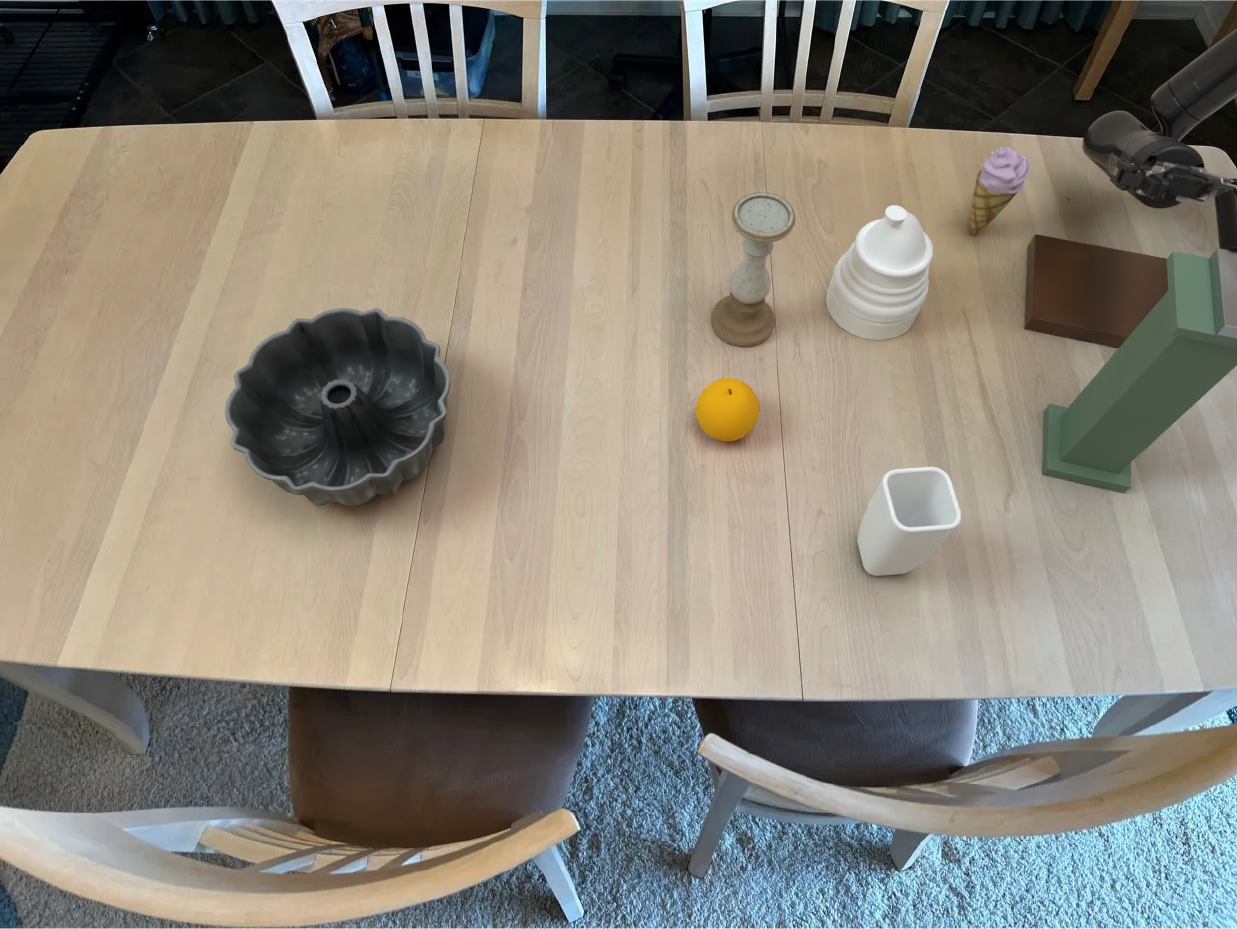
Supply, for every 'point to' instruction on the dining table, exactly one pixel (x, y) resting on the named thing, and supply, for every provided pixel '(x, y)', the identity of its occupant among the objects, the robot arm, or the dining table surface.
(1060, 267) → the cutting board
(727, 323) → the candle holder
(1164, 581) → the dining table surface
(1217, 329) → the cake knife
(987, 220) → the ice cream cone
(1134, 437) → the stand
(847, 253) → the honey pot
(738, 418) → the orange
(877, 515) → the cup
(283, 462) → the bundt pan
